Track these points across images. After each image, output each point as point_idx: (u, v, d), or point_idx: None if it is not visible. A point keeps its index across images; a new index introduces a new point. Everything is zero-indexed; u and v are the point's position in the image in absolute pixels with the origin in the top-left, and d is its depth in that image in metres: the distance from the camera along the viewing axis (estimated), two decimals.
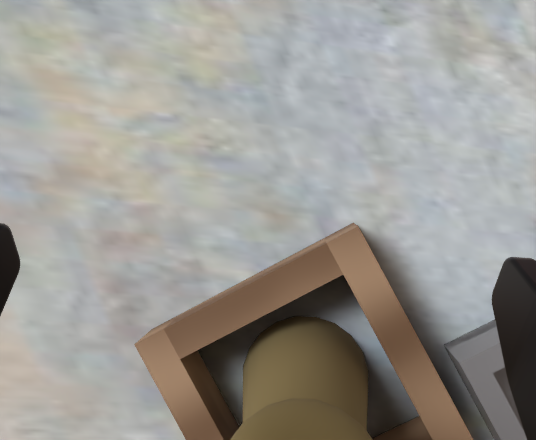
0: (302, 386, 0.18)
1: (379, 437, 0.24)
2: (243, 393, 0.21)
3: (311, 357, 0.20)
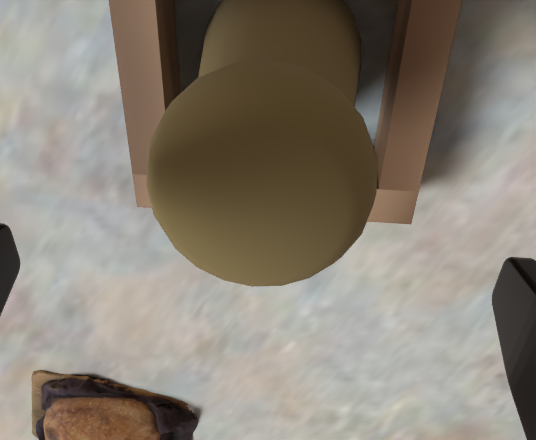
0: None
1: (396, 14, 0.18)
2: None
3: (209, 51, 0.15)
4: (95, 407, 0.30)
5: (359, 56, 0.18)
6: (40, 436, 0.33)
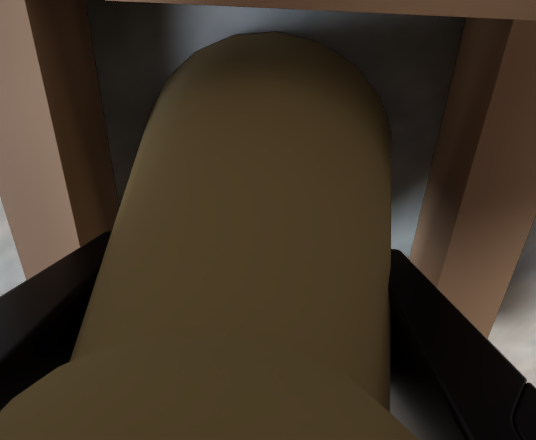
0: (87, 312, 0.07)
1: (450, 99, 0.11)
2: None
3: (128, 195, 0.08)
4: None
5: None
6: None
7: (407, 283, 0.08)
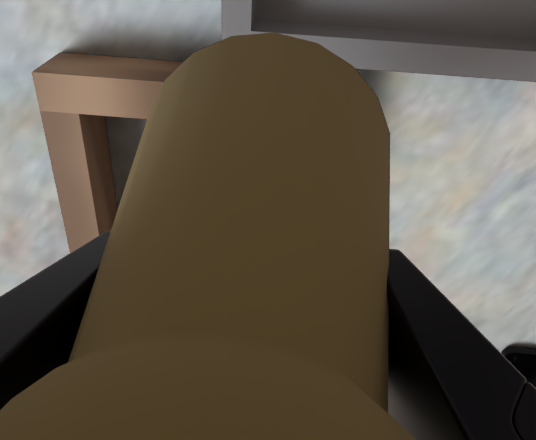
0: (86, 313, 0.07)
1: None
2: None
3: (126, 196, 0.08)
4: None
5: (389, 168, 0.11)
6: None
7: (407, 283, 0.08)
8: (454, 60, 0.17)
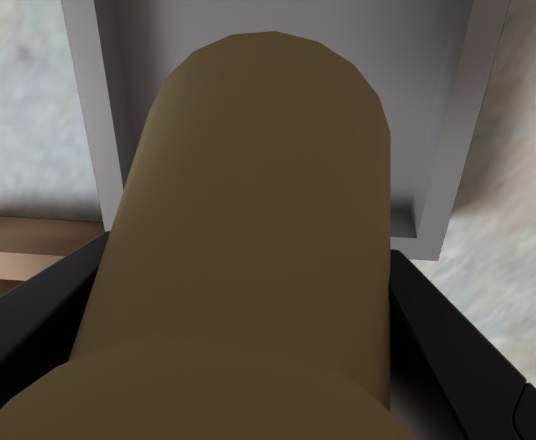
0: (86, 312, 0.07)
1: None
2: None
3: (126, 195, 0.08)
4: None
5: (390, 166, 0.11)
6: None
7: (407, 283, 0.08)
8: None
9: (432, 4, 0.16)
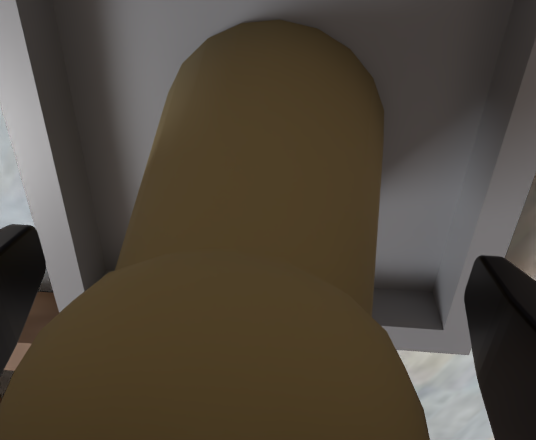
0: (123, 249, 0.08)
1: None
2: None
3: (152, 159, 0.10)
4: None
5: (382, 140, 0.12)
6: None
7: (525, 291, 0.08)
8: None
9: (470, 49, 0.12)
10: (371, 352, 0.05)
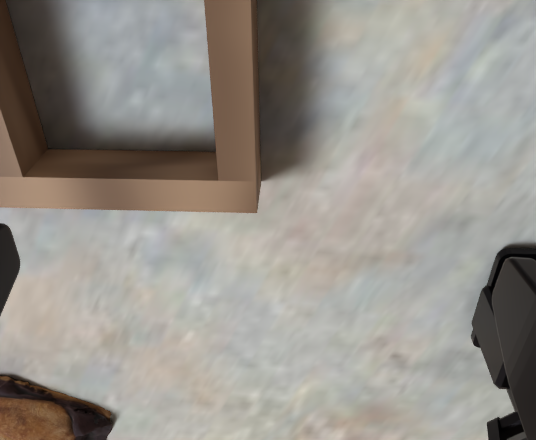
0: None
1: None
2: None
3: None
4: (13, 407, 0.32)
5: None
6: None
7: None
8: None
9: None
10: None
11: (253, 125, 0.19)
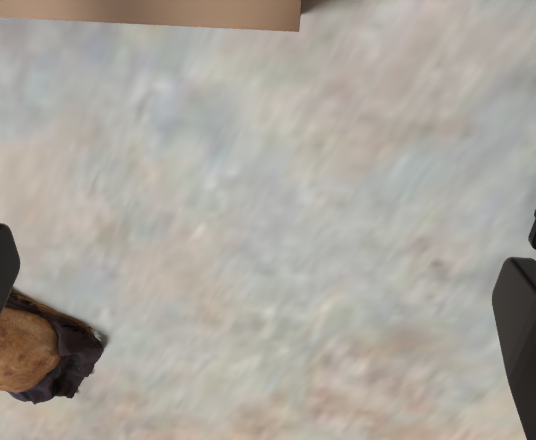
0: None
1: None
2: None
3: None
4: None
5: None
6: None
7: None
8: None
9: None
10: None
11: None
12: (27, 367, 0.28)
